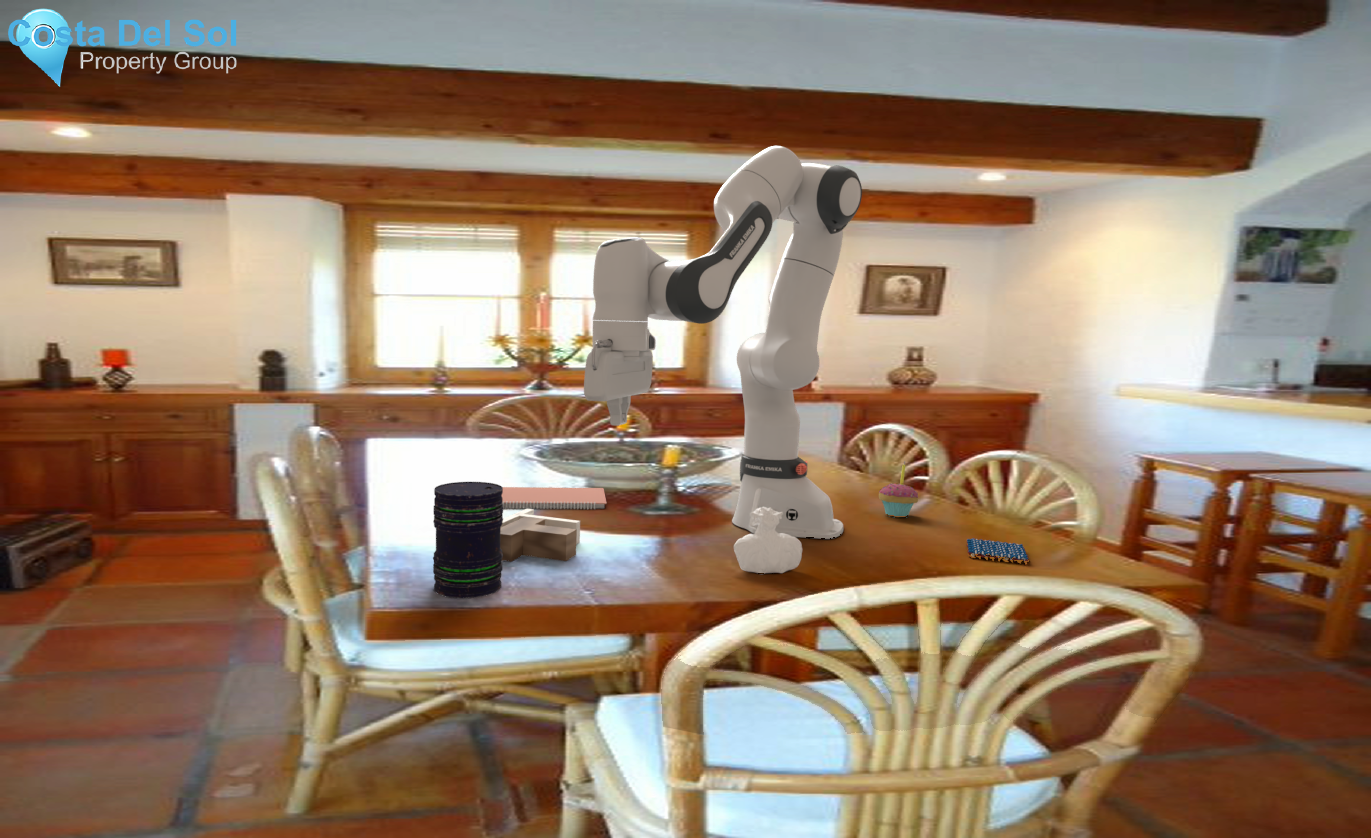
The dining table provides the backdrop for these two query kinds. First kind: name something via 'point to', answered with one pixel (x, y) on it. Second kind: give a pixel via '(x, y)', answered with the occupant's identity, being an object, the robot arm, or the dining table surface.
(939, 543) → the dining table surface
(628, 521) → the dining table surface
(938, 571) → the dining table surface
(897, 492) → the cupcake
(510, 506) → the notebook
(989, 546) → the woven mat
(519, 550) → the t block
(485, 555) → the rusty oil barrel
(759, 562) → the bust
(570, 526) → the corner fence
